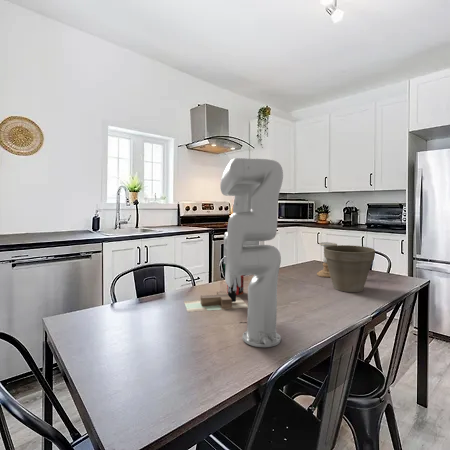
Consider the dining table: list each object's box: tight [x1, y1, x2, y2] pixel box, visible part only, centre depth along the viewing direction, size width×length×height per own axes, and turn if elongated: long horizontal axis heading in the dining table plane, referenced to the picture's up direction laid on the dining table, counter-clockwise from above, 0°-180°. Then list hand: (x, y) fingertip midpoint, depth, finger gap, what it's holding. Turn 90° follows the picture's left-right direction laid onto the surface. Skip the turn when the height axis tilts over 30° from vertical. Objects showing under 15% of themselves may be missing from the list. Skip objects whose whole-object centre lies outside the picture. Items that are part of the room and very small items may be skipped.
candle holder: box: [316, 241, 338, 279], centre depth 196 cm, size 12×12×20 cm
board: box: [183, 297, 248, 313], centre depth 137 cm, size 14×26×1 cm, turn 104°
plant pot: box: [323, 244, 376, 293], centre depth 167 cm, size 25×25×22 cm
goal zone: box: [184, 303, 223, 312], centre depth 136 cm, size 14×14×1 cm
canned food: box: [226, 275, 245, 296], centre depth 155 cm, size 8×8×11 cm
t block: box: [200, 291, 232, 308], centre depth 137 cm, size 12×12×4 cm
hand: (231, 301), depth 139 cm, fingers closed
